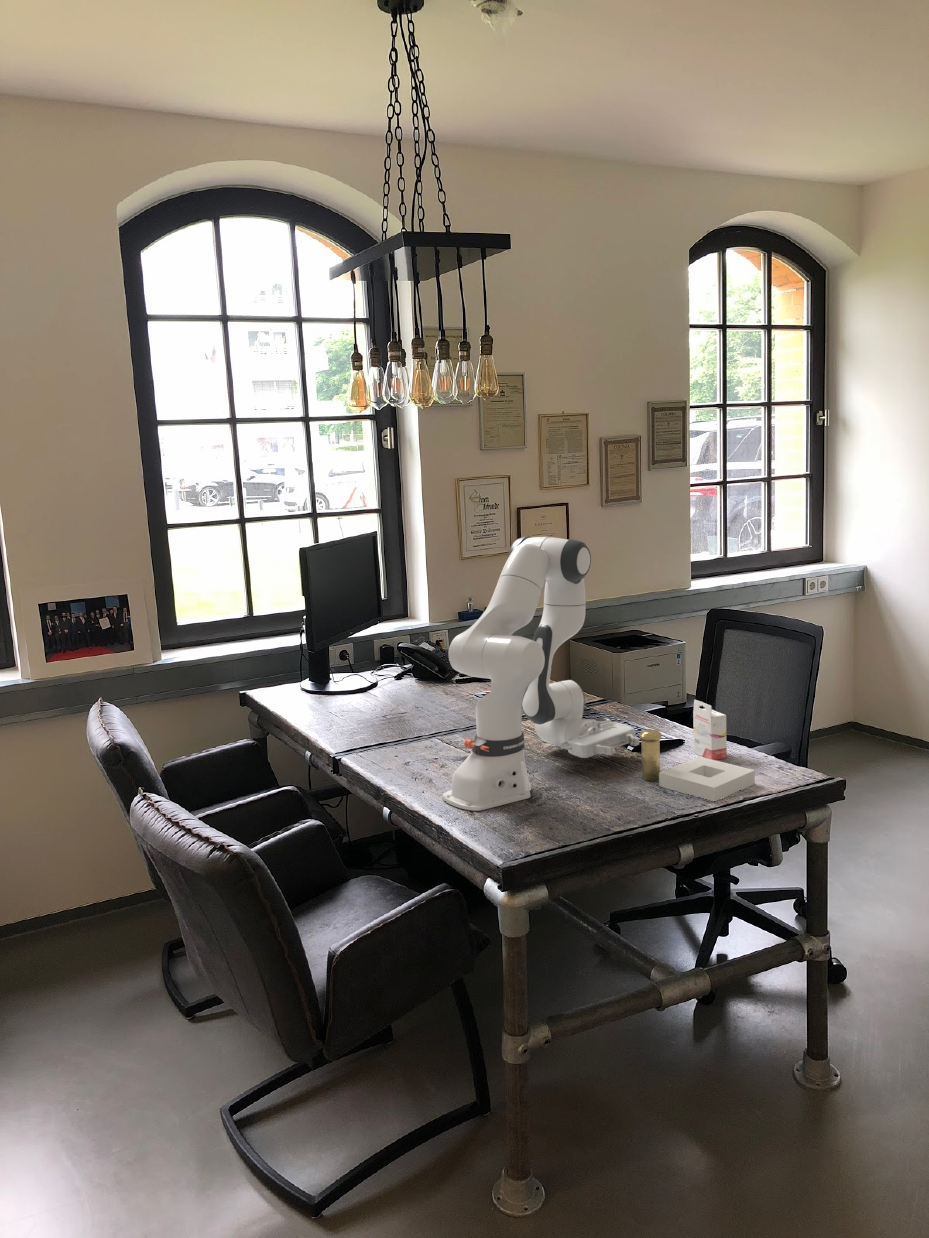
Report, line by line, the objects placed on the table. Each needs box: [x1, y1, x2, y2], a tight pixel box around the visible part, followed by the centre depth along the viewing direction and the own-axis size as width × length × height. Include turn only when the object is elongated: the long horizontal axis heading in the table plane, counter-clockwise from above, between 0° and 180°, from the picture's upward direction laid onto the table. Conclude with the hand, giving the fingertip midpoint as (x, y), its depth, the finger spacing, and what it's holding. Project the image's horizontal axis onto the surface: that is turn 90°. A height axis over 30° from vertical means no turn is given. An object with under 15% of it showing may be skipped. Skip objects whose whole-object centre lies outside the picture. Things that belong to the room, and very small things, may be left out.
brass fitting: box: [638, 728, 662, 783], centre depth 243 cm, size 5×5×12 cm
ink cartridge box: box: [692, 699, 728, 761], centre depth 257 cm, size 9×5×15 cm, turn 21°
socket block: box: [658, 756, 756, 802], centre depth 237 cm, size 16×16×4 cm
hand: (625, 746), depth 249 cm, fingers open, 8 cm apart
